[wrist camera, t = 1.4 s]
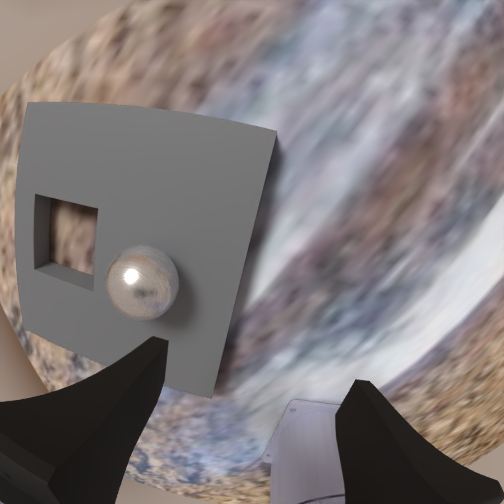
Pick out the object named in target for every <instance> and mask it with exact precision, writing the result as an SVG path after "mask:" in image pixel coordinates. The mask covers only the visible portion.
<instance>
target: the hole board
mask: <svg viewBox="0 0 504 504" xmlns="http://www.w3.org/2000/svg"><path fill="white" fill-rule="evenodd" d="M276 134H277V131H275V130H271V129H267V128H262V127H258V126H254V125H249V124H244V123H240V122H235V121H230V120H225V119H220V118H214V117H209V116H203V115H197V114H191V113H184V112H178V111H170V110H163V109H155V108H146V107H137V106H127V105H115V104H100V103H79V102H28V104H27V108H26V113H25V118H24V124H23V130H22V136H21V142H20V150H19V158H18V167H17V178H16V193H15V256H16V271H17V282H18V292H19V300H20V307H21V314H22V320H23V326H24V329H26V330H28V331H30V332H32V333H34V334H36V335H38V336H40V337H42V338H44V339H46V340H48V341H50V342H52V343H54V344H56V345H58V346H61V347H63V348H65V349H67V350H69V351H72V352H74V353H76V354H79V355H81V356H83V357H86V358H88V359H90V360H93V361H95V362H98V363H100V364H103V365H105V366H110V365H111V364H113V363H115V362H116V361H118V360H119V359H121V358H122V357H124V356H125V355H127V354H128V353H130V352H131V351H132V350H134V349H135V348H136V347H138V346H139V345H141V344H142V343H143V342H145V341H146V340H147V339H148V338H150V337H152V336H155V337H159V338H162V339H165V340H169V345H168V354H167V363H166V373H165V382H164V384H163V386H167V387H170V388H173V389H177V390H180V391H184V392H187V393H191V394H195V395H199V396H203V397H207V398H211V399H212V395H213V391H214V387H215V383H216V379H217V374H218V370H219V366H220V362H221V358H222V354H223V350H224V345H225V341H226V337H227V333H228V329H229V325H230V321H231V317H232V312H233V308H234V304H235V300H236V296H237V292H238V288H239V284H240V280H241V276H242V272H243V267H244V263H245V259H246V255H247V251H248V247H249V243H250V239H251V235H252V231H253V227H254V223H255V219H256V215H257V211H258V207H259V203H260V199H261V194H262V190H263V186H264V182H265V178H266V174H267V170H268V166H269V162H270V158H271V154H272V150H273V146H274V142H275V138H276ZM51 198H55V199H60V200H64V201H68V202H73V203H77V204H81V205H85V206H89V207H94V208H98V217H97V228H96V241H95V259H94V276H92V275H89V274H86V273H83V272H80V271H77V270H74V269H71V268H68V267H66V266H63V265H60V264H57V263H54V262H51V261H50V254H49V242H50V211H51ZM134 245H149V246H153V247H156V248H158V249H160V250H161V251H163V252H164V253H165V254H166V255H167V256H168V257H169V258H170V259H171V260H172V262H173V263H174V265H175V267H176V269H177V272H178V277H179V290H178V294H177V297H176V300H175V302H174V303H173V305H172V306H171V307H170V309H169V310H168V311H167V312H166V313H164V314H163V315H161V316H160V317H157V318H155V319H152V320H146V321H139V320H134V319H131V318H128V317H126V316H124V315H123V314H121V313H120V312H119V311H118V310H117V309H116V308H115V307H114V306H113V305H112V303H111V302H110V300H109V297H108V295H107V291H106V286H105V279H106V273H107V269H108V267H109V264H110V263H111V261H112V260H113V258H114V257H115V256H116V255H117V254H118V253H119V252H121V251H122V250H124V249H126V248H128V247H130V246H134Z"/></svg>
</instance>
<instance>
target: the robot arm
mask: <svg viewBox="0 0 504 504" xmlns="http://www.w3.org/2000/svg"><path fill="white" fill-rule="evenodd" d="M168 345H169V340H165V339H162V338H159V337H155V336H152V337H150V338H148V339H147V340H146V341H145V342H143V343H142V344H141V345H139V346H138V347H136V348H135V349H134V350H132V351H131V352H130V353H128V354H127V355H125V356H124V357H122V358H121V359H119V360H118V361H116V362H115V363H113V364H111V365H110V366H108V367H106V368H105V369H103V370H101V371H99V372H98V373H96V374H94V375H92V376H90V377H88V378H86V379H84V380H82V381H80V382H78V383H75V384H73V385H71V386H68V387H65V388H62V389H60V390H57V391H53V392H50V393H47V394H44V395H40V396H36V397H31V398H27V399H21V400H14V401H5V402H0V504H115V501H116V498H117V494H118V491H119V488H120V485H121V482H122V479H123V476H124V473H125V470H126V467H127V465H128V462H129V459H130V456H131V454H132V452H133V449H134V447H135V445H136V443H137V441H138V439H139V437H140V435H141V433H142V431H143V429H144V427H145V425H146V423H147V421H148V420H149V418H150V416H151V414H152V412H153V410H154V408H155V406H156V404H157V401H158V398H159V396H160V393H161V390H162V387H163V384H164V382H165V373H166V363H167V354H168ZM262 461H263V462H266V463H271V489H270V504H500V503H501V502H502V501H503V499H504V492H503V490H502V487H501V485H500V483H499V482H498V481H497V480H494V479H492V478H489V477H486V476H483V475H481V474H479V473H476V472H474V471H472V470H470V469H468V468H466V467H464V466H462V465H461V464H459V463H457V462H455V461H454V460H452V459H451V458H449V457H448V456H446V455H445V454H443V453H442V452H441V451H439V450H438V449H437V448H435V447H434V446H433V445H432V444H430V443H429V442H428V441H427V440H425V439H424V438H423V437H422V436H421V435H420V434H419V433H418V432H417V431H416V430H415V429H414V428H413V427H412V426H411V425H410V424H409V423H408V422H407V421H406V420H405V419H404V418H403V417H402V416H401V415H400V414H399V413H398V412H397V411H396V409H395V408H394V407H393V406H392V405H391V404H390V403H389V402H388V400H387V399H386V398H385V397H384V396H383V395H382V394H381V393H380V392H379V390H378V389H377V388H376V387H375V386H374V385H373V384H372V383H371V382H370V381H365V380H357V379H355V381H354V383H353V385H352V387H351V388H350V390H349V392H348V394H347V395H346V397H345V399H344V401H343V402H342V404H341V405H335V404H326V403H318V402H310V401H303V400H291V401H290V402H289V403H288V406H287V408H286V410H285V412H284V414H283V416H282V418H281V420H280V422H279V424H278V426H277V428H276V430H275V432H274V434H273V436H272V438H271V440H270V442H269V444H268V446H267V448H266V450H265V452H264V454H263V455H262Z"/></svg>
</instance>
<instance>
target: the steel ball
mask: <svg viewBox="0 0 504 504" xmlns="http://www.w3.org/2000/svg"><path fill="white" fill-rule="evenodd" d="M105 286H106V291H107V295H108V297H109V300H110V302H111V303H112V305H113V306H114V307H115V308H116V309H117V310H118V311H119V312H120V313H121V314H123V315H124V316H126V317H128V318H131V319H134V320H139V321H146V320H152V319H155V318H157V317H160V316H161V315H163V314H164V313H166V312H167V311H168V310H169V309H170V307H171V306H172V305H173V303H174V302H175V300H176V297H177V294H178V290H179V277H178V272H177V269H176V267H175V265H174V263H173V262H172V260H171V259H170V258H169V257H168V256H167V255H166V254H165V253H164V252H163V251H161V250H160V249H158V248H156V247H153V246H149V245H134V246H130V247H128V248H126V249H124V250H122V251H121V252H119V253H118V254H117V255H116V256H115V257H114V258H113V260H112V261H111V263H110V264H109V267H108V269H107V273H106V279H105Z"/></svg>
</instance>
